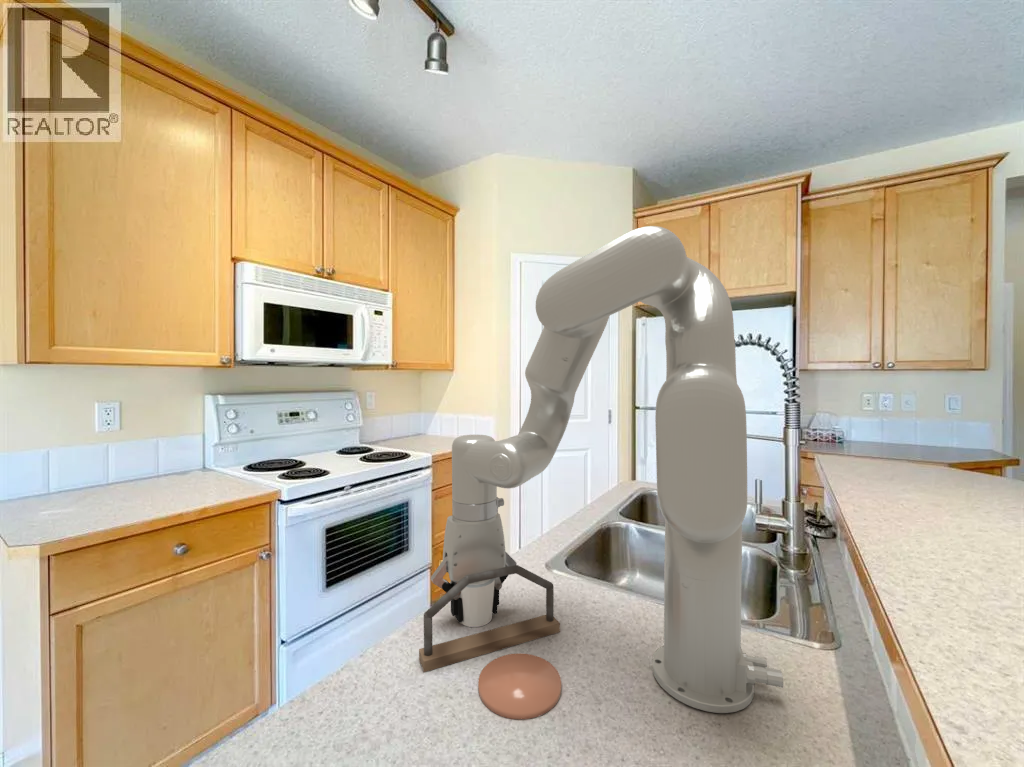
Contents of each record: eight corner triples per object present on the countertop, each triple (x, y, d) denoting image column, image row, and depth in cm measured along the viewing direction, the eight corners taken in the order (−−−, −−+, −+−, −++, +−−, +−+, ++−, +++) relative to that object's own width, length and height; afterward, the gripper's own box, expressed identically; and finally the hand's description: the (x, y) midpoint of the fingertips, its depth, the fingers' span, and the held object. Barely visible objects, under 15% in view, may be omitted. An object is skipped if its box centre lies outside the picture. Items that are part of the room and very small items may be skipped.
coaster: (568, 668, 61) (568, 662, 61) (550, 729, 51) (550, 722, 51) (495, 652, 64) (495, 647, 64) (464, 706, 54) (464, 700, 54)
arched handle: (550, 622, 72) (550, 553, 72) (559, 632, 69) (559, 560, 69) (419, 659, 63) (418, 580, 63) (423, 672, 60) (423, 590, 60)
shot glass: (490, 631, 70) (489, 588, 69) (449, 626, 71) (449, 584, 71) (499, 608, 76) (499, 569, 76) (462, 604, 78) (462, 566, 78)
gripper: (511, 496, 80) (512, 592, 81) (419, 509, 73) (420, 614, 73) (529, 508, 73) (530, 613, 74) (430, 523, 66) (431, 639, 67)
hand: (475, 612), depth 74 cm, fingers closed on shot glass, 5 cm apart
